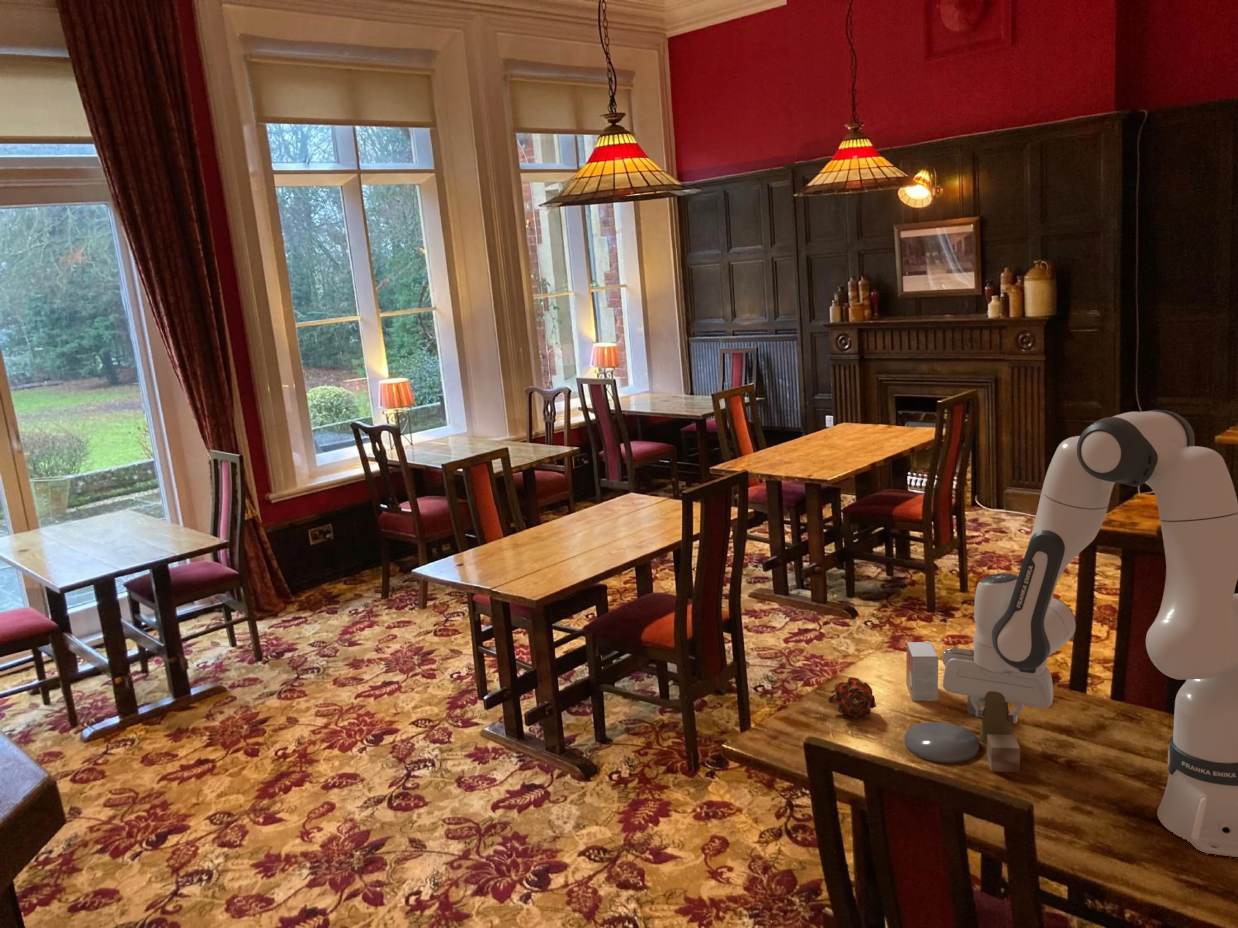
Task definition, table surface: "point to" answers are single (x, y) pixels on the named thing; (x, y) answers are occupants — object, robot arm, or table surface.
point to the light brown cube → (1003, 753)
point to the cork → (995, 716)
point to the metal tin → (971, 708)
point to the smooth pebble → (941, 742)
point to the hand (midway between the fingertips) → (996, 718)
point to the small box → (922, 671)
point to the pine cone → (853, 698)
